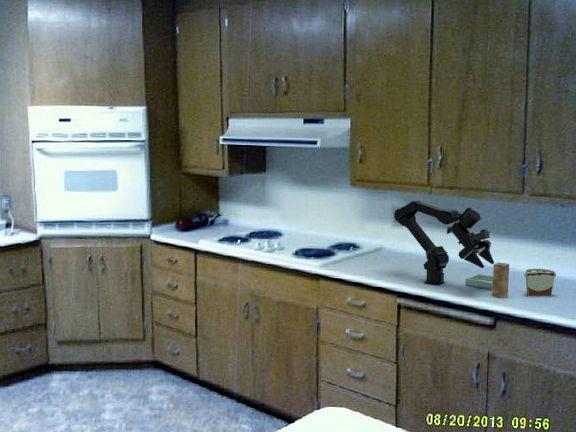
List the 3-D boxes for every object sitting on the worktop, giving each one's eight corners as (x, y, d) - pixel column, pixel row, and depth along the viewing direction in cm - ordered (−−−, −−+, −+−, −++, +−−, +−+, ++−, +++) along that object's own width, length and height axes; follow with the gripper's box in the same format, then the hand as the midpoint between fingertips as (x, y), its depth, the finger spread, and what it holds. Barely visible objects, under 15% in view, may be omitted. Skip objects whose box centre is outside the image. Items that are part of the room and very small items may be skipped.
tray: (465, 285, 273) (465, 278, 272) (477, 280, 282) (477, 273, 281) (491, 290, 265) (491, 283, 265) (503, 284, 274) (503, 278, 274)
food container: (548, 292, 262) (549, 268, 261) (555, 296, 256) (556, 271, 255) (518, 292, 262) (519, 268, 260) (524, 296, 256) (525, 271, 254)
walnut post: (492, 296, 256) (493, 264, 255) (496, 294, 260) (498, 262, 258) (503, 298, 254) (504, 265, 252) (507, 295, 257) (509, 264, 255)
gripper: (466, 225, 253) (492, 257, 247) (487, 220, 266) (512, 249, 261) (447, 243, 259) (472, 274, 253) (468, 236, 273) (492, 266, 267)
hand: (488, 265), depth 258 cm, fingers open, 9 cm apart
